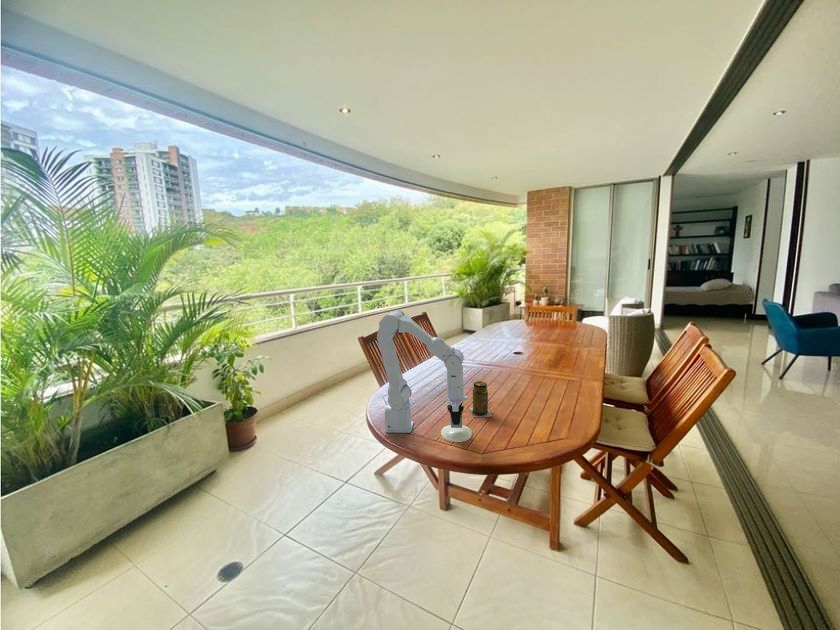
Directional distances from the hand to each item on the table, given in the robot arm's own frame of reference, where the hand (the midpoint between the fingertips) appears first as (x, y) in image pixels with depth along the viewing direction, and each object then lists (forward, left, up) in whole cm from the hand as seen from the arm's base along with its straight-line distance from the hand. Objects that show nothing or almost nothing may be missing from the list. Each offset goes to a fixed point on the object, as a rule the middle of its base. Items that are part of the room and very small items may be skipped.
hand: (456, 421), depth 121 cm
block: (0, 0, -2) cm, 2 cm away
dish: (0, 0, -5) cm, 5 cm away
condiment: (+9, +17, -5) cm, 20 cm away
